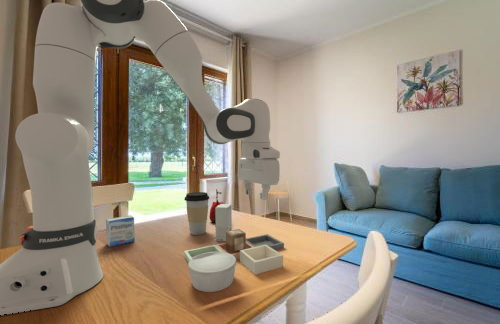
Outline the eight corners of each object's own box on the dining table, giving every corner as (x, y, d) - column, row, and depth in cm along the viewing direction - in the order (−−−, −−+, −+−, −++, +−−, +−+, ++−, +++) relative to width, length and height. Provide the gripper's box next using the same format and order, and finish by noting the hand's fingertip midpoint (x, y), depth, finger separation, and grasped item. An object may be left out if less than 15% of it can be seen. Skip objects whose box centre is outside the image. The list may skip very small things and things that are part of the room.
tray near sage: (193, 271, 61) (192, 264, 61) (184, 257, 70) (184, 250, 70) (227, 263, 66) (227, 256, 66) (215, 251, 74) (215, 244, 74)
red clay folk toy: (227, 219, 110) (227, 187, 109) (224, 224, 103) (224, 189, 102) (211, 219, 110) (210, 187, 110) (207, 223, 103) (206, 189, 103)
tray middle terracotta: (227, 263, 66) (227, 256, 66) (215, 251, 74) (215, 244, 74) (257, 255, 70) (257, 249, 70) (242, 245, 79) (242, 239, 79)
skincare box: (227, 242, 81) (226, 207, 80) (215, 242, 82) (214, 207, 81) (232, 236, 87) (231, 203, 86) (221, 236, 88) (220, 203, 87)
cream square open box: (255, 276, 58) (254, 262, 58) (239, 263, 66) (239, 250, 66) (283, 268, 62) (282, 255, 62) (265, 256, 70) (265, 244, 70)
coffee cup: (215, 231, 93) (214, 192, 93) (197, 238, 86) (196, 196, 85) (197, 227, 99) (196, 191, 98) (179, 234, 91) (178, 194, 90)
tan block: (232, 256, 69) (231, 235, 69) (226, 250, 73) (225, 231, 73) (246, 253, 71) (245, 232, 71) (239, 247, 75) (239, 228, 75)
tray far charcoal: (257, 256, 70) (257, 249, 70) (242, 245, 79) (242, 239, 79) (284, 249, 75) (283, 243, 75) (267, 239, 83) (267, 234, 83)
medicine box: (109, 247, 78) (108, 221, 78) (106, 244, 81) (105, 218, 81) (135, 241, 83) (134, 216, 83) (131, 238, 87) (130, 214, 86)
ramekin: (217, 266, 64) (216, 247, 64) (246, 281, 56) (246, 259, 56) (179, 283, 56) (178, 261, 56) (207, 303, 48) (207, 278, 48)
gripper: (233, 152, 82) (233, 192, 83) (264, 152, 64) (264, 203, 65) (249, 152, 85) (249, 191, 86) (283, 152, 67) (283, 201, 68)
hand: (256, 196), depth 75 cm, fingers open, 8 cm apart
